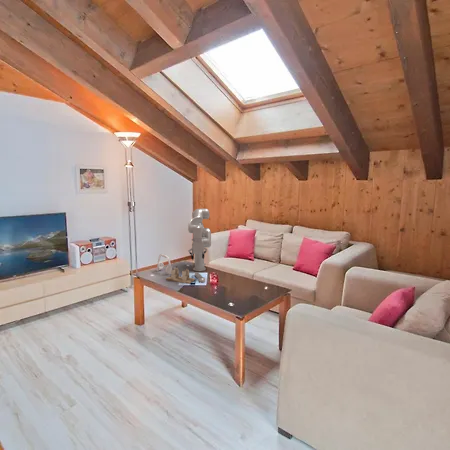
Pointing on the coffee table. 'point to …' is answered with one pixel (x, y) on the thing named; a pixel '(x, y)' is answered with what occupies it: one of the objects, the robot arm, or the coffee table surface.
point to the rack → (178, 278)
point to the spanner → (200, 277)
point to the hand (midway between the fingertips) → (197, 258)
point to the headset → (161, 265)
